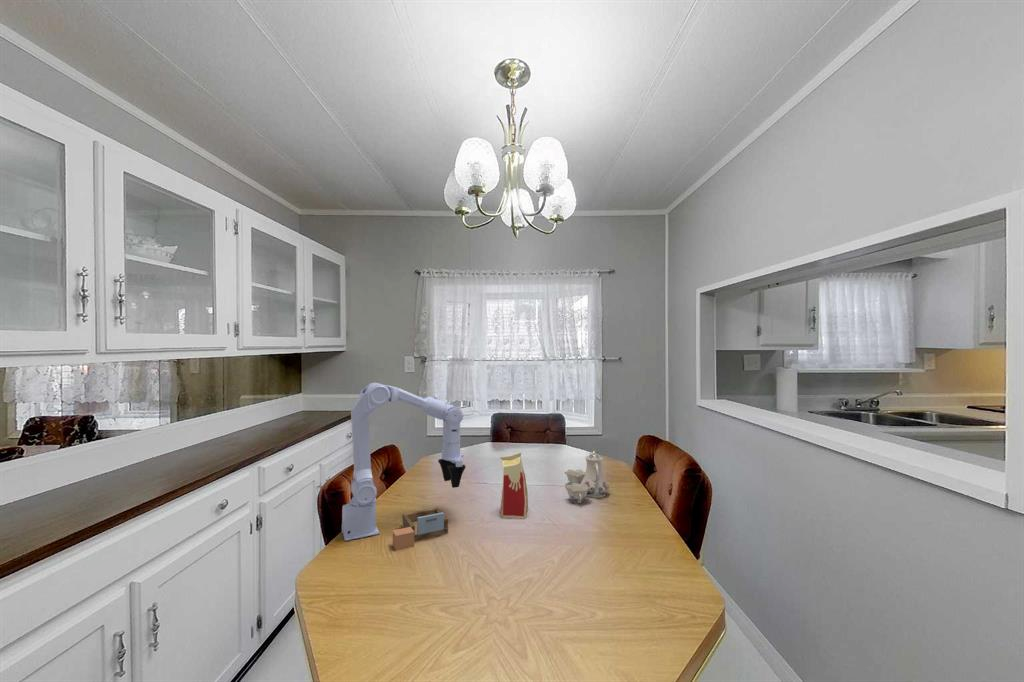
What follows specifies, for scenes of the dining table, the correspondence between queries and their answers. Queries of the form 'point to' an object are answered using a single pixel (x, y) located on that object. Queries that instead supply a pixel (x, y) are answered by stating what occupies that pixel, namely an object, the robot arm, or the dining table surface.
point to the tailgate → (430, 523)
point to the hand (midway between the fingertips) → (451, 483)
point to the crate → (411, 518)
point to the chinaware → (587, 480)
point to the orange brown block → (403, 538)
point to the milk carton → (514, 488)
